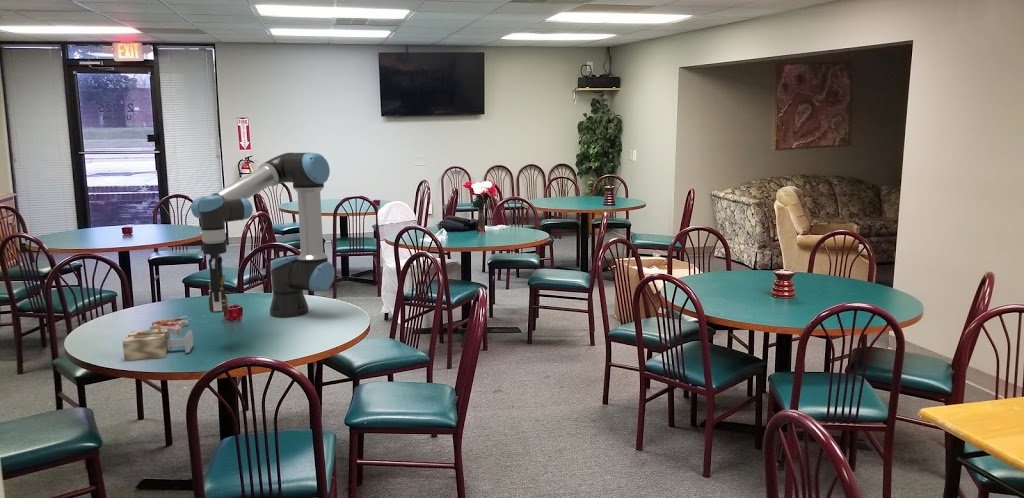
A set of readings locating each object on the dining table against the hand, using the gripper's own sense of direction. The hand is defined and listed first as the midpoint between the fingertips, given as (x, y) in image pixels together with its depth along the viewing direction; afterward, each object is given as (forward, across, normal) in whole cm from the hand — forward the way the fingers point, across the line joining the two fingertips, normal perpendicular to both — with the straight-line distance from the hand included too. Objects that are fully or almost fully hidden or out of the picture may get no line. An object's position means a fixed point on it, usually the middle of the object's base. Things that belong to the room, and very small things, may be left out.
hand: (219, 308), depth 264 cm
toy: (+14, -31, -21) cm, 40 cm away
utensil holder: (+1, 0, 0) cm, 1 cm away
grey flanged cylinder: (+13, 0, -17) cm, 22 cm away
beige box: (+14, 0, -24) cm, 27 cm away
